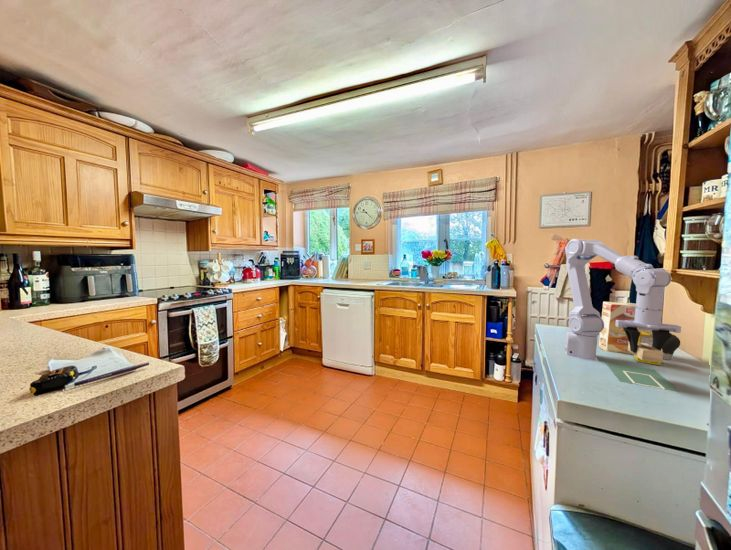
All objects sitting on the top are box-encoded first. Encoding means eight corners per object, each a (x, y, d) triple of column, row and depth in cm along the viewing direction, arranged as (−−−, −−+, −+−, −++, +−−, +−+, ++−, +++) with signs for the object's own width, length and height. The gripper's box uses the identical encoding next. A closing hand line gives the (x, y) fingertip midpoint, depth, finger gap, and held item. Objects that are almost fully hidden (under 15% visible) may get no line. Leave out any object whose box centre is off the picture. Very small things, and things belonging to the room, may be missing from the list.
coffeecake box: (606, 352, 114) (611, 303, 112) (597, 347, 120) (602, 301, 119) (653, 357, 109) (659, 306, 108) (642, 351, 116) (647, 303, 115)
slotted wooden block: (627, 350, 93) (628, 341, 93) (645, 352, 91) (646, 343, 91) (642, 360, 84) (643, 349, 84) (662, 362, 83) (663, 352, 83)
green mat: (619, 383, 86) (619, 380, 86) (604, 363, 102) (604, 361, 102) (680, 394, 80) (680, 391, 80) (654, 371, 96) (654, 369, 96)
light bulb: (680, 364, 103) (683, 337, 102) (658, 361, 106) (661, 334, 105) (674, 359, 108) (677, 333, 107) (654, 356, 110) (656, 330, 110)
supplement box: (655, 362, 104) (658, 332, 103) (660, 367, 99) (663, 336, 98) (633, 358, 107) (636, 329, 107) (636, 363, 103) (639, 333, 102)
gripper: (624, 308, 86) (620, 353, 87) (689, 313, 80) (684, 361, 81) (614, 304, 92) (610, 346, 93) (674, 309, 87) (669, 353, 88)
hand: (644, 352), depth 88 cm, fingers closed on slotted wooden block, 4 cm apart
